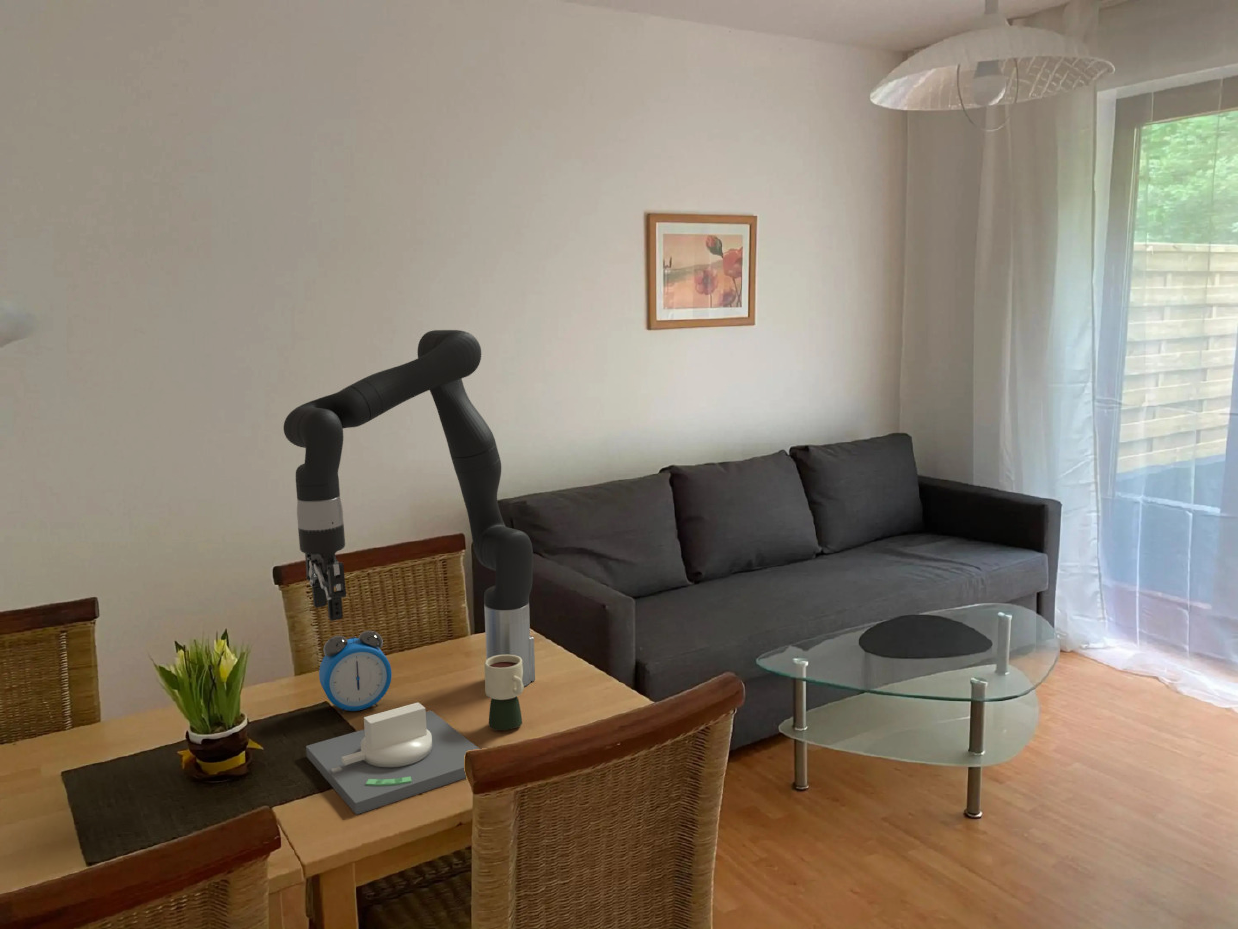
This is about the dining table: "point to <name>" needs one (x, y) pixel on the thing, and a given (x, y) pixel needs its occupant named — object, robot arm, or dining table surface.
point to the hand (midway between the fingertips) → (328, 612)
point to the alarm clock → (355, 671)
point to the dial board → (390, 784)
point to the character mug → (504, 690)
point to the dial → (394, 738)
